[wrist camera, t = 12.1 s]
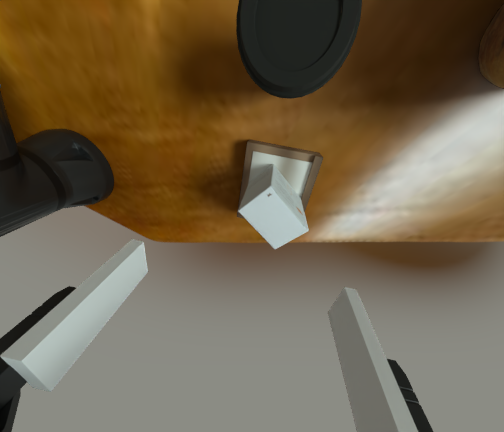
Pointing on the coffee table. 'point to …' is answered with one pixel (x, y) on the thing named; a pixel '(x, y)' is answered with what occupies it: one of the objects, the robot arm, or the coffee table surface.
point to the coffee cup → (295, 42)
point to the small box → (273, 208)
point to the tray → (281, 167)
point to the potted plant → (493, 50)
